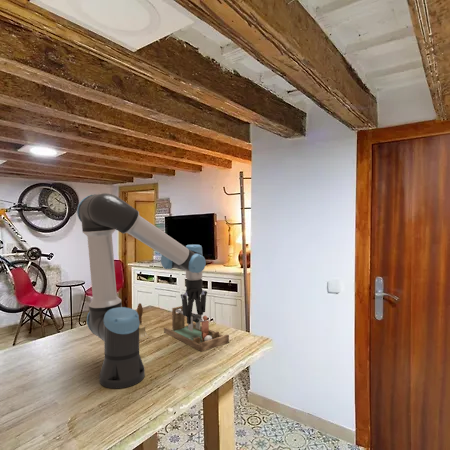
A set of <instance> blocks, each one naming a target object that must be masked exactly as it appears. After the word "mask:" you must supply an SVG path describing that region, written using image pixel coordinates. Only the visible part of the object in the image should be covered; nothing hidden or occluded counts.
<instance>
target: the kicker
mask: <svg viewBox="0 0 450 450" xmlns="http://www.w3.org/2000/svg"><path fill="white" fill-rule="evenodd" d="M176 313H180V314H182V315H183V311H181V309H177V310H176ZM197 314H198V313H194V312H192V315H191V316H192V317H193V323H195V324H196V323H197V322H200V323H201V326H202V342H204V339H205V337H206V336H207V335H209V330H210V329H209V324H210V323H209V322H210V321H209V320H208V316H207V315H204V316H203V315H202V319H201V318H200V316H199V315H197Z"/></svg>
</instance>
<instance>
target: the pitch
mask: <svg viewBox="0 0 450 450" xmlns="http://www.w3.org/2000/svg"><path fill="white" fill-rule="evenodd" d="M177 309H178V310H181V311H183V308H182V305H180V306H176V307H172V309H171V311H172V313H171V315H172V316H171V319H172V323H171V324H172V328H171V329H170V328H168V327H163V333H164V334H167V335H169V336H170V337H172V338H174V339H176V340H178V341H180V342H182V343H184V344H186V345H187V346H190V347H191V348H193V349H195V350H197V351H199V352H205V351H207V350H211V349H213V348H216V347H220V346H223V345H225V344H228V343H230V335H229V334H224V335H223V334H221V333H220V332H219V331H213V330H212V329H209V335H210V336H211V337H212V339H211V340H208V341H204V342H202V325H200V329H197V328H196V322H193V331H189V330H188V325H186V326H185V324H186V323H185V321H186V320H185V318H186V316H184V315H182V314H180V313H178V312H176V310H177Z"/></svg>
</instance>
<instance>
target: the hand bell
mask: <svg viewBox="0 0 450 450" xmlns="http://www.w3.org/2000/svg"><path fill="white" fill-rule="evenodd" d="M143 311H144V309H143V305H142V303H138V304H137V308H136V312H137V313H138V315H139V322H140V324H139V342H140V341H142V340H144V339H147V338H150V336H149V334H148V333H147V331H146V326H145V324H143V323H142V322H143V321H142V320H143V318H142V316H143V313H144V312H143Z"/></svg>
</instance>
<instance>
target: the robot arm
mask: <svg viewBox="0 0 450 450" xmlns="http://www.w3.org/2000/svg"><path fill="white" fill-rule="evenodd" d="M76 214H77V217H78V219H79V221H80V223H81V229H82V234H84V235H85V236H86V237H87V245H88V246H87V247H88V258H89V269H90V270H89V271H90V281H91V282H90V283H91V293H92V295H91V296H92V300H91V302H89V304H88V309H89V311H88V312H87V315H86V323H87V327H88V330H89V331H90V332H91V333H92V334H93V335H95V336H96V337H98V338H99V339H100V340H102V341H103V342H104V348H103V349H104V351H103V352H104V359H103V363H102V365H101V367H100V372H99V377H98V378H99V384H100V385H101V386H103V387H104V388H107V389H125V388H129V387H132V386H135V385H137V384H138V383H140V382H141V381H143V380H144V378H145V375H146V374H145V371H146V369H145V366H144V363H143V359H142V357H141V355H140V341H139V324H140V322H139V315H138V313H137V310H135V309H133V308H131V307H126V306H123V304H122V299H121V298H120V297H119V296H118V293H117V284H116V283H117V282H116V272H115V271H116V269H115V258H114V257H115V256H114V244H113V233H114V232H115V231H118V232H119V233H121V234H128V235H130V236H132V237H133V238H134V239H136V240H137V241H140V242H141V243H143V244H144V245H145V246H148V247H149V248H151V249H152V250H154V251H155V252H157V253H159V254H160V263H161V266H162V268H164V269H165V270H172V269H177V270H180V271H185V289H186V290H185V292H184V293H181V294H180V299H181V306H182V308H183V315H184V316H185V318H186V324H187V326H188V330H189V331H193V323H194V322H193V317H192V316H191V315H192V313H193V307H194V302H195V309H196V314H197V315H199V316H200V318H201V319H203V315H204V313H205V312H206V304H207V303H206V302H207V295H208V291H207V290H203V271H204V270H205V267H206V262H207V261H206V258H205V256H203V247H202V245H200V244H187V245H184V244H182V243H180V242H179V241H177V240H176V239H174V238H173V237H172V236H170V235H168V234H167V233H166V232H164V231H163V230H161V229H160V228H159V227H157V226H155V225H154V224H153V223H152V222H150V221H148V220H147V219H145V218H144V217H143V216H141V215H140V212H139V210H137V209H136V208H135V207H133V206H132V205H130V204H129V203H127V202H126V201H124V200H123V199H121V198H120V197H119V196H117V195H115V194H113V193H108V192H107V193H106V192H104V193H98V194H90V195H87V196H86V197H84V198H83V199H82V200H80V202H78V204H77V208H76ZM195 324H196V328H197V329H200V326H201V322H197V323H196V322H195Z"/></svg>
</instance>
